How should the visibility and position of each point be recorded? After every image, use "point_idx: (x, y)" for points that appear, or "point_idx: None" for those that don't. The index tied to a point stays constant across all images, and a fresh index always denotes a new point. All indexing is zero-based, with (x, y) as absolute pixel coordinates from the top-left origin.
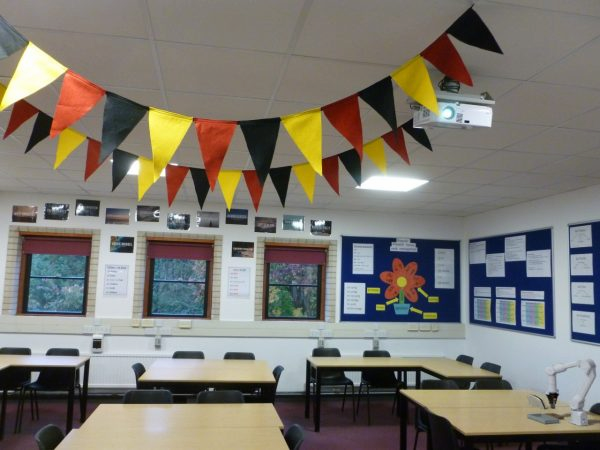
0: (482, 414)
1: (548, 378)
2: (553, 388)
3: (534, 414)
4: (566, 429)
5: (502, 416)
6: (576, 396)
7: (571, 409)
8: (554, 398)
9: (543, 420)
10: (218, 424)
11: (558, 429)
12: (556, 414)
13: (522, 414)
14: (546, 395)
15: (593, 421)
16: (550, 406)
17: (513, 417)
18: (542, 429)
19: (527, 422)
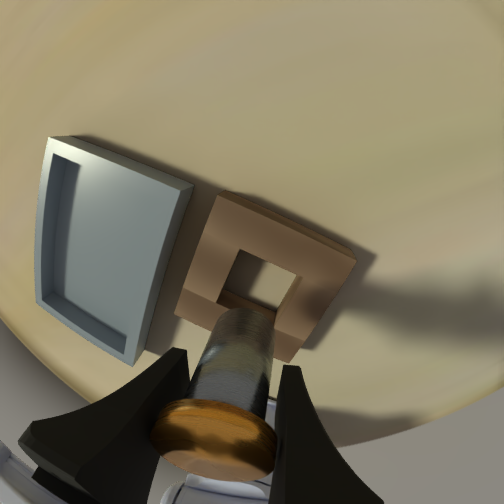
0: (3, 9)
1: None
2: None
3: (93, 168)
4: (85, 384)
5: (12, 55)
6: None
7: (187, 476)
8: (205, 473)
9: (37, 293)
10: None
11: (54, 358)
12: (310, 304)
13: (136, 42)
14: (48, 423)
15: (379, 436)
16: (225, 322)
17: (24, 91)
18: (5, 307)
19: (7, 210)
